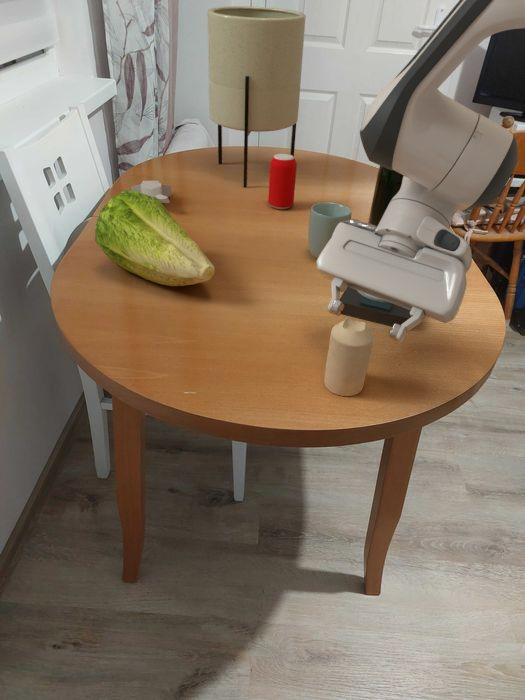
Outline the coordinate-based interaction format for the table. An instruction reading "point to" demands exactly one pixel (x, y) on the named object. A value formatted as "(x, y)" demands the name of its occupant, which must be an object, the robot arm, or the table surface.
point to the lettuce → (149, 241)
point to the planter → (254, 70)
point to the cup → (325, 224)
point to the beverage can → (282, 181)
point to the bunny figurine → (154, 190)
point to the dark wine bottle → (384, 193)
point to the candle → (348, 357)
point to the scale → (372, 308)
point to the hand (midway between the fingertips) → (362, 325)
